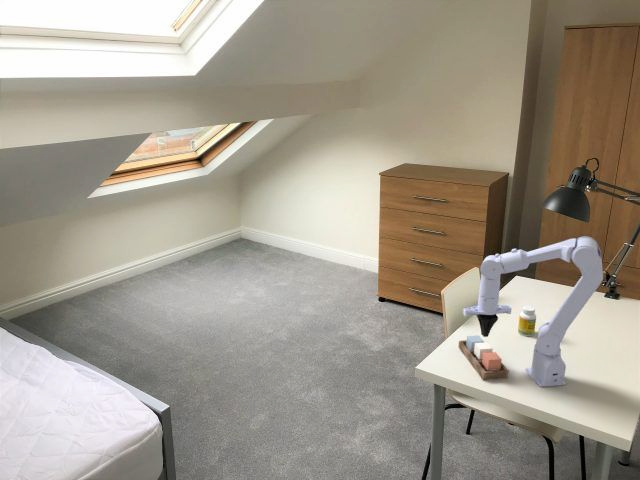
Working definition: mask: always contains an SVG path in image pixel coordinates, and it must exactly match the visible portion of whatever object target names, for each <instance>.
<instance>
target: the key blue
mask: <svg viewBox="0 0 640 480" xmlns="http://www.w3.org/2000/svg"><path fill="white" fill-rule="evenodd" d="M466 340H467V341H466V346H467V349H468V350H474V347H475V343H483V342H485V341H484V340H483V339H482V337H480V335H469V336H466Z"/></svg>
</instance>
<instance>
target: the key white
mask: <svg viewBox="0 0 640 480" xmlns="http://www.w3.org/2000/svg"><path fill="white" fill-rule="evenodd" d="M492 352H493V347H492V346H491V344H489V343H488V341H486V342H485V341H484V342H483V343H475V347H474V354H475V355H476V356H477V357H478V358H477V359H478V360H483V353H492Z"/></svg>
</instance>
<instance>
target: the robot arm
mask: <svg viewBox="0 0 640 480" xmlns="http://www.w3.org/2000/svg"><path fill="white" fill-rule="evenodd" d="M554 259H561V260H562V261H564V262H567V263H569V264H570V263H571V261H572V262H573V264H574V265H575V266H576V267H577V268H578V269H579V271H580V273H581V276H580V278H579V279H578V281H577V282H576V284H575V285H574V287H573V288H572V289H571V291H570V292H569V294H568V295H567V297H566V298H564V301H563V302H562V304H561V305H560V307H558V310H557V311H556V312H555V314H553V316H552V317H550V318H549V319H548V321H546V322H545V323H543V324H542V325H541V326H540V327H539V328H538V335H537V340H536V341H535V344H534V348H533V354H532V361H531V363H532V364H531V367H525V368H524V370H525V372H526V373H527V374H528V375H529V376H530V377H531V378H532V379H533V381H534V382H536V383H537V385H539V387H545V388H546V387H554V386H565V385H567V383H566V382H565V374H566V363H565V361H564V360H563V358H562V355H561V354H562V349H561V342H562V341H563V339H564V337H565V335H566V334H567V331H568V329H569V328H570V326H571V325H572V323H574V321H575V319H576V318H577V316H578V315H579V314H580V313H581V311H582V310H583V309H584V307H585V305H586V304H587V303H588V301H589V300H590V298H591V297H593V294H594V293H595V292H596V291H597V289H598V288H599V286H600V285H601V284H602V282H603V280H604V273H603V262H602V261H603V260H602V250H601V248H600V246H599V244H598V242H597V241H596V240H595V238H593V237H590V236H586V235H585V236H580V237H578V238H569V239H565V240H563V241H560V242H557V243H553V244H549V245H546V246H544V247H539V248H537V249H533V250H529V251H526V250H523V249H517V248H512V249H511V251H509V252H506V253H501V254H499V253H495V255H494V254H493V255H492V254H491V255H487V256H486V257H485V258H484V259H483V261H482V263H481V265H480V269H479V271H480V280H479V281H480V282H479V289H478V290H479V292H478V300H477V301H478V302H477V305H474V306H470V307H464V308H463V309H462V314H463V316H464V317H465V318H467V317H470V316H476V318H477V320H478V324H479V327H480V334H481V335H482V337H484V338H487V337H489V335H490V333H491V330H492V328H493V327H494V325H495V324H496V323H497V322H498V320H499V317H498V316H497V314H507V315H511V314H512V307H511V306H510V305H503V304H502V305H501V304H499V297H500V296H499V295H500V286H501V274H504V275H505V274H509V273H513V272H517V271H523V270H526V269H528V267H529V265H530V264H535V263H538V262H544V261H549V260H554Z"/></svg>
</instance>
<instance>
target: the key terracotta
mask: <svg viewBox="0 0 640 480" xmlns="http://www.w3.org/2000/svg"><path fill="white" fill-rule="evenodd" d="M481 360H482V364H483V365H484V366H485V368H484V369H486V371H496V370H499V369H501V362H502V360H503V359H502V358H501V357H500V355H499V354H498V353H497V352H496V351H492V353H483V359H481Z"/></svg>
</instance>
